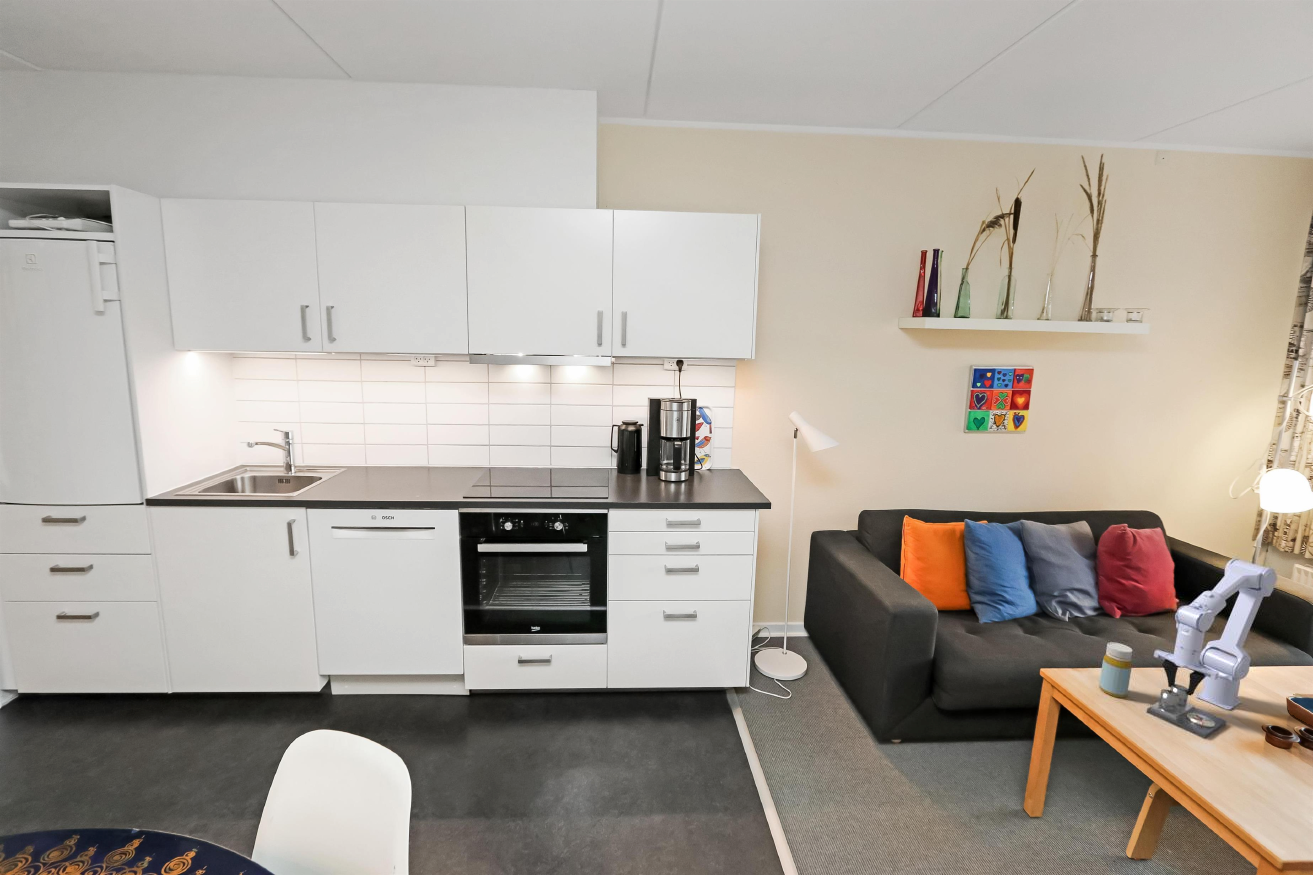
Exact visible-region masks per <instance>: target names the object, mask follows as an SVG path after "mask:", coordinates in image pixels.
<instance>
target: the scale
mask: <svg viewBox="0 0 1313 875" xmlns="http://www.w3.org/2000/svg"><path fill="white" fill-rule="evenodd" d="M1146 713H1147V714H1149V715H1151V716H1153V717H1155V718H1158V719H1160V720H1163V721H1164V722H1167V723H1169V724H1171V725H1174V726H1176V727H1178V728H1179V729H1182V730H1185V731H1186V732H1189V733H1191V734H1193V735H1196V736H1198V737H1200V738H1202V739H1208V738H1209V737H1210V736H1211V735H1213V734H1215V733H1216V732H1217V731H1219V730H1220V729H1222V728H1223V727H1225V726H1226V725H1227V720H1225V719H1223V718H1220V717H1218V716H1215V715H1213V714H1211V713H1209V712H1206V711H1204V710H1201V709H1199V708H1196V707H1195V705H1194V704H1192V703H1189V702H1187V705H1186V707H1179V706H1177V711H1176V713H1169V712H1166V711H1164V710H1162V709H1160V708H1159V701H1157V702H1155V703H1154V704H1152V705H1150V707H1148V708H1147V709H1146Z"/></svg>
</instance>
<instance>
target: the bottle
mask: <svg viewBox="0 0 1313 875" xmlns="http://www.w3.org/2000/svg"><path fill="white" fill-rule="evenodd" d="M1105 652H1106V653H1105V654H1104V656H1103V660H1102V665H1101V672H1100V677H1099V689H1100V690H1101V691H1102V692H1103V693H1104V694H1106V695H1108V696H1111V697H1114V698H1119V699H1121V698H1125V697H1127V695H1128V692H1129V685H1130V679H1131V674H1132V669H1133V668H1132V667H1133V666H1132V656H1133V648H1131V647H1129V646H1128V645H1126V644H1122V643H1119V642H1113V641H1111V642H1107V644H1106V651H1105Z"/></svg>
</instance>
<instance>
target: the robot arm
mask: <svg viewBox="0 0 1313 875" xmlns="http://www.w3.org/2000/svg"><path fill="white" fill-rule="evenodd" d="M1277 576H1278V575H1277V573H1276V571H1275V569H1274V568H1271V567H1267V566H1263V565H1258V564H1255V563H1252V562H1248V561H1246V560H1245V561H1244V560H1243V559H1242V560H1241V559H1239V558H1236V557H1235V558H1232V559H1230V560H1229V561H1228V562H1227V563H1226V565H1225V568H1224V576H1223V577H1222V578H1221V580H1220V581H1219V582H1218V583H1217V584H1216V586H1214V588H1213V589H1211V590H1206V591H1203V592H1202V593H1201V594H1200V595H1198V597H1197V598H1195V599H1194V600H1193V601H1192V602H1191V603H1190V604H1188V605H1181V606H1180V607H1179V608H1178V609H1177V610H1176V611H1177V612H1176V613H1175V615H1174V619H1175V621H1176V625H1175V627H1176V629H1177V633H1176V639H1175V647H1174V651H1173V653H1171V652H1167V651H1163V650H1161V649H1155V650H1154V654H1153V658H1156V659H1161V660H1163V662H1162V663H1161V665H1162V668H1163V669H1164V671H1165V675H1166V680H1167V686H1168V687H1169V688H1171V685H1172V684H1176V677H1177V672H1178V669H1179V667H1181V668H1183V669H1184V668H1185V669H1188V670H1190V671H1192V672H1190V673H1189V682H1188V696H1190V697H1191V696H1193V695H1194V693H1195V691H1196V689H1197V687H1198V686H1199V684H1200V683H1201V682H1202V681H1203V685H1202V690H1201V691H1200V692H1198V693H1197V694H1196V695H1195V697H1196V698H1198V699H1201V700H1203V701H1205V702H1207V703H1209V704H1212V705H1215V706H1217V707H1220V708H1222V709H1224V710H1227V711H1230V710H1231V709H1233V708H1235V707H1236V706H1238V705H1240V704H1241V703H1242V700H1240V699H1238V696H1239V691H1240V686H1241V680H1243V679H1246V677H1247V675H1248V674H1249V672H1250V663H1251V662H1252V661H1251V660H1252V658H1251V657H1250V655H1249V654H1248V652H1247V651H1246V650H1245V649H1244V648H1243V646H1244V643H1245V641H1246V639H1247V637H1248V635H1249V632H1250V629H1251V627H1252V624H1253V622H1254V620H1255V618H1256V615H1257V612H1258V610H1259V608H1260V606H1261V603H1262V601H1263V598H1264V597H1265V598H1267V597H1270V596H1271V594H1272V593H1273V591H1274V589H1275V586H1276V583H1277V581H1278V577H1277ZM1236 592H1239V594H1238V596H1237V598H1236V600H1235V604H1234V606H1233V608H1232V611H1231V612H1230V616H1229V617H1228V620H1227V622H1226V625H1225V627H1224V630H1223V632H1222V633H1221V634H1222V635H1221V636H1220V639H1216V640H1211V641H1208V642H1207V643H1206V646H1205V647H1204V648H1203V643H1204V639H1205V633H1206V632H1207V631H1208V630H1210V629H1211V626H1212V624H1213V622H1214V621H1215V617H1216V616H1217V615H1218V613H1220V612H1221V611H1222V610H1223V609H1224V608H1225V607H1226V606H1227V602H1226V600H1227V599H1229V598H1230V597H1231V596H1232V595H1234V594H1235V593H1236ZM1202 648H1203V649H1202Z"/></svg>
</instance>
